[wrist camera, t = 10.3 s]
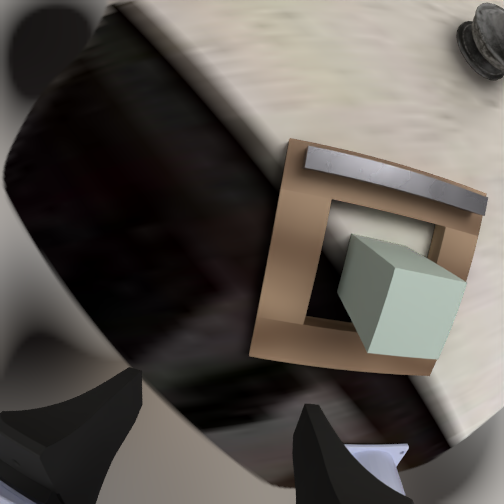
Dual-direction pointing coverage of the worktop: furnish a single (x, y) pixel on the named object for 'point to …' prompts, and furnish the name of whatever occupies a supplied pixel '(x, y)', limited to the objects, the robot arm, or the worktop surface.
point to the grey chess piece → (484, 41)
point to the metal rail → (393, 178)
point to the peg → (398, 298)
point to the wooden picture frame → (307, 257)
